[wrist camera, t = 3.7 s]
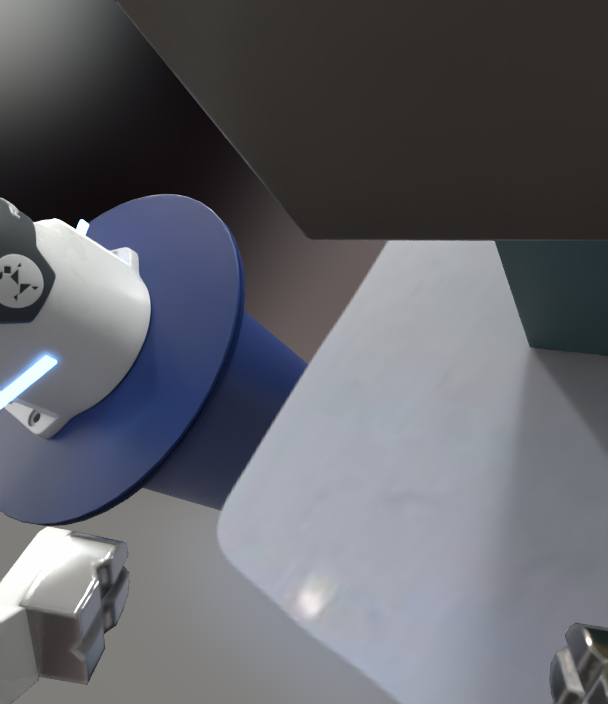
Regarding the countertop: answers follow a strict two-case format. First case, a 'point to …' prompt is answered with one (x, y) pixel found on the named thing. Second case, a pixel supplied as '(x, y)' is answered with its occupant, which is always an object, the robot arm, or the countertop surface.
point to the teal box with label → (560, 292)
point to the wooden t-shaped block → (406, 110)
